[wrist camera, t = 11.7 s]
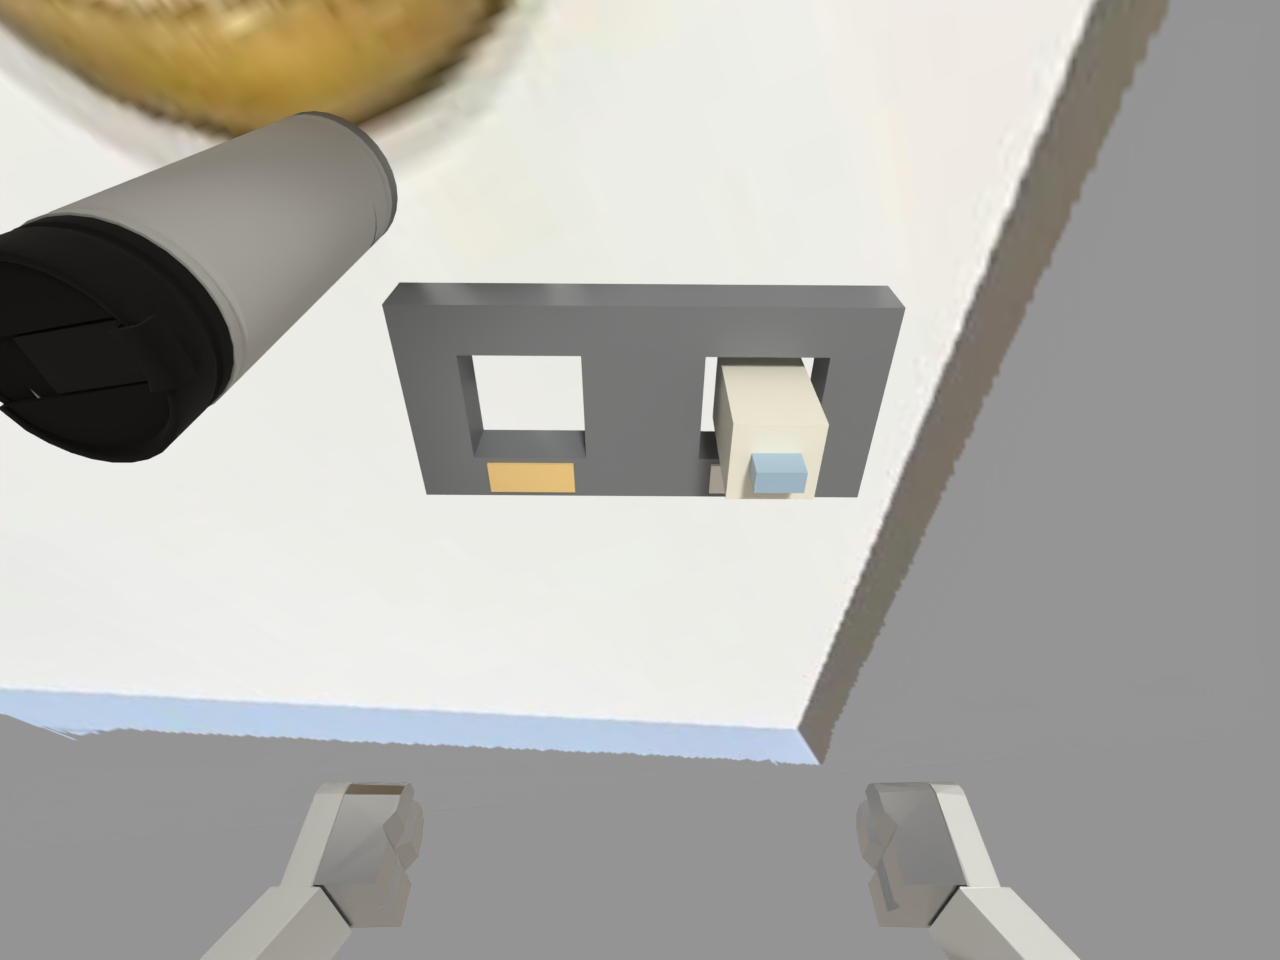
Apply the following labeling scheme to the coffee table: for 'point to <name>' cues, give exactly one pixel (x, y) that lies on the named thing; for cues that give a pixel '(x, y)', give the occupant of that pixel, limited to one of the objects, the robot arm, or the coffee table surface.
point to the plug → (767, 428)
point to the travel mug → (180, 282)
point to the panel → (630, 378)
